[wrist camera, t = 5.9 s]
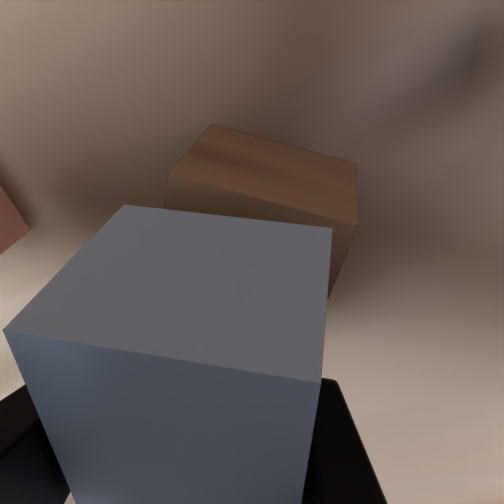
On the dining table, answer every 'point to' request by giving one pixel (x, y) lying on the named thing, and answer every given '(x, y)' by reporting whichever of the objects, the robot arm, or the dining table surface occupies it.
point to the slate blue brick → (181, 358)
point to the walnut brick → (267, 186)
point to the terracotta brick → (10, 222)
